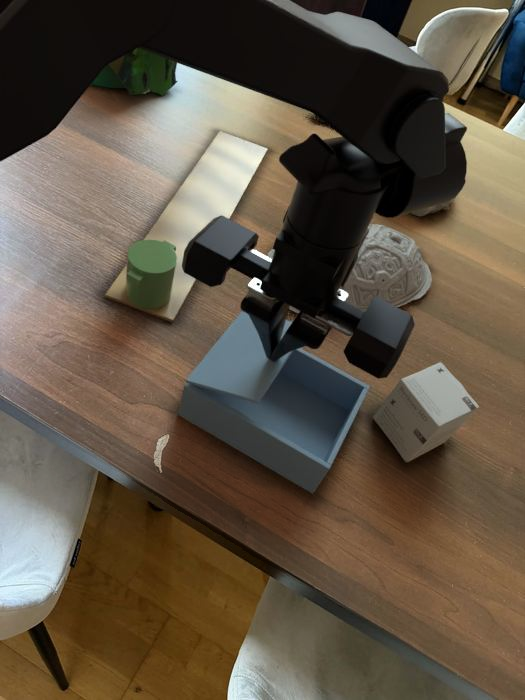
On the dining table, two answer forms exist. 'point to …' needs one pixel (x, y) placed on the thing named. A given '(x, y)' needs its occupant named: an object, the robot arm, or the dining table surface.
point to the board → (199, 210)
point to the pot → (150, 273)
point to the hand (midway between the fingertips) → (272, 356)
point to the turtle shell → (385, 270)
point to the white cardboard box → (424, 411)
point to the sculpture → (139, 73)
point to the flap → (238, 363)
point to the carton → (284, 418)
